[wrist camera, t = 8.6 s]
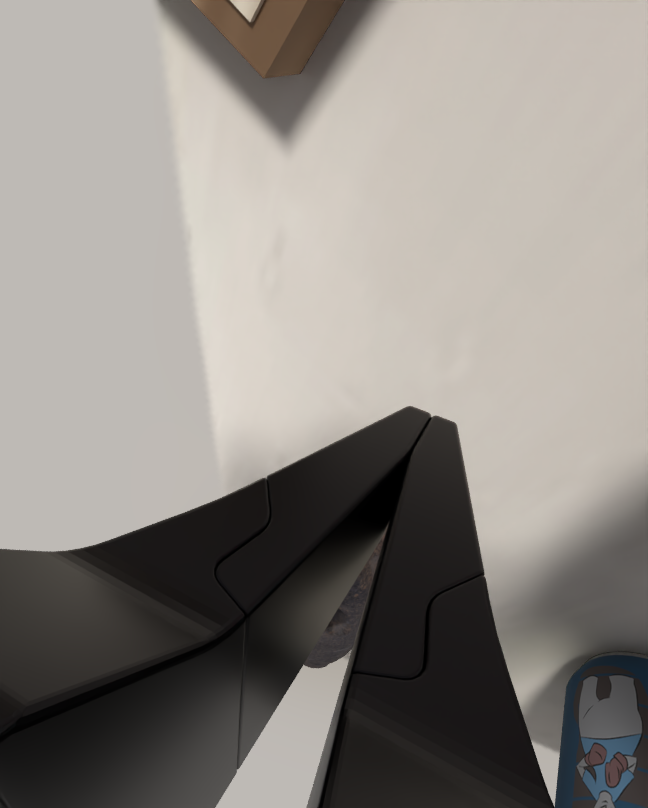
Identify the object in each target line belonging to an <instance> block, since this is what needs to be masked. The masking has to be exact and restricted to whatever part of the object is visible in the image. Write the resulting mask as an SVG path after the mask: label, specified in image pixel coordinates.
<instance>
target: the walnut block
mask: <svg viewBox="0 0 648 808" xmlns="http://www.w3.org/2000/svg"><path fill="white" fill-rule="evenodd" d="M191 1H192V2H193V3H194V4H195V5H196V7H197V8H198V9H199V10H200V11H201V12H202V13H203V14H204V15H205V16H206V17H207V18H208V19H209V20H210V22H211V23H212V24H213V25H214V26H215V27H216V28H217V29H218V30H219V31H220V32H221V33H222V34H223V36H224V37H225V38H226V39H227V40H228V41H229V42H230V43H231V44H232V45H233V46H234V47H235V48H236V49H237V51H238V52H239V53H240V54H241V55H242V56H243V57H244V58H245V59H246V60H247V61H248V62H249V63H250V65H251V66H252V67H253V68H254V69H255V70H256V71H257V72H258V73H259V74H260V75H261V76H262V77H263V78H271V77H278V76H286V75H293V74H300V73H301V71H302V69H303V68H304V66H305V64H306V63H307V61H308V60H309V58H310V56H311V55H312V53H313V51H314V50H315V48H316V46H317V45H318V43H319V41H320V40H321V38H322V37H323V35H324V33H325V32H326V30H327V28H328V27H329V25H330V23H331V22H332V20H333V18H334V17H335V15H336V14H337V12H338V10H339V9H340V7H341V5H342V4H343V2H344V0H191Z"/></svg>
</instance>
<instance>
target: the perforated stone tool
mask: <svg viewBox="0 0 648 808" xmlns="http://www.w3.org/2000/svg"><path fill="white" fill-rule="evenodd" d="M387 528H388V527H387ZM386 531H387V529H386ZM386 531H385V533H384V535H383V536H382V538H381V540H380V542H379V543H378V545H377V547H376V548H375V550H374V551H373V553H372V555H371V556H370V558H369V559H368V561H367V563H366V564H365V566H364V568H363V569H362V571H361V572H360V574H359V576H358V577H357V579H356V580H355V582H354V584H353V585H352V587H351V589H350V590H349V592H348V593H347V595H346V597H345V598H344V600H343V601H342V603H341V605H340V606H339V608H338V610H337V611H336V613H335V614H334V616H333V618H332V619H331V621H330V622H329V624H328V626H327V627H326V629H325V631H324V632H323V634H322V635H321V637H320V639H319V640H318V642H317V643H316V645H315V647H314V648H313V650H312V652H311V653H310V655H309V656H308V658H307V660H306V661H305V663H304V665H305V666H308V667H311V668H322V667H325V666H327V665H328V664H329V663H332V662H334V661H337V660H338V659H340V658H342V657H343V656H345V655H346V654H347V653H348V652H349V651H350V650H351V649H352V648H353V645H354V641H355V638H356V634H357V631H358V627H359V624H360V620H361V617H362V614H363V610H364V607H365V603H366V600H367V596H368V593H369V589H370V586H371V582H372V579H373V575H374V572H375V568H376V565H377V561H378V558H379V555H380V551H381V548H382V544H383V541H384V538H385V534H386Z"/></svg>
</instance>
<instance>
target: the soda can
mask: <svg viewBox="0 0 648 808" xmlns="http://www.w3.org/2000/svg"><path fill="white" fill-rule="evenodd" d="M555 808H648V656H647V655H643V654H638V653H631V652H609V653H603V654H600V655H597V656H595V657H593V658H591V659H590V660H588V661H587V662H586V663H585V664H584V665H583V666H582V667H581V668H580V669H579V670H578V671H577V672H576V673H575V674H574V675H573V676H572V677H571V679H570V680H569V682H568V684H567V687H566V695H565V705H564V716H563V726H562V737H561V747H560V758H559V768H558V779H557V789H556V799H555Z"/></svg>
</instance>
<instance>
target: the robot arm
mask: <svg viewBox="0 0 648 808" xmlns="http://www.w3.org/2000/svg"><path fill="white" fill-rule="evenodd" d="M387 527H388V528H387ZM386 529H387V531H386ZM385 531H386V534H385V538H384V541H383V544H382V548H381V551H380V555H379V558H378V561H377V565H376V568H375V572H374V575H373V579H372V582H371V586H370V589H369V593H368V596H367V600H366V603H365V607H364V610H363V614H362V617H361V620H360V624H359V627H358V631H357V634H356V638H355V641H354V645H353V648H352V652H351V655H350V659H349V662H348V666H347V669H346V673H345V676H344V679H343V683H342V686H341V690H340V693H339V697H338V700H337V704H336V707H335V711H334V714H333V718H332V721H331V725H330V728H329V732H328V735H327V739H326V742H325V746H324V749H323V752H322V756H321V759H320V763H319V766H318V770H317V773H316V777H315V780H314V784H313V787H312V791H311V794H310V798H309V801H308V805H307V808H554V805H553V803H552V800H551V798H550V796H549V794H548V790H547V787H546V785H545V782H544V779H543V776H542V773H541V770H540V767H539V764H538V761H537V758H536V755H535V752H534V749H533V746H532V742H531V739H530V736H529V733H528V730H527V727H526V724H525V721H524V718H523V715H522V712H521V709H520V706H519V703H518V700H517V697H516V693H515V690H514V687H513V684H512V681H511V678H510V675H509V672H508V669H507V665H506V662H505V659H504V655H503V652H502V648H501V645H500V642H499V638H498V635H497V631H496V626H495V622H494V618H493V613H492V609H491V604H490V600H489V594H488V589H487V583H486V579H485V577H484V569H483V563H482V558H481V552H480V547H479V542H478V536H477V531H476V526H475V520H474V515H473V509H472V504H471V499H470V493H469V488H468V482H467V477H466V472H465V466H464V461H463V455H462V450H461V445H460V439H459V434H458V428H457V425H456V423H454V422H452V421H450V420H447V419H444V418H442V417H439V416H433V417H432V418H431V414H430V413H428V412H426V411H423V410H420V409H418V408H415V407H412V406H408V407H405V408H403V409H401V410H399V411H397V412H395V413H393V414H391V415H389V416H387V417H385V418H383V419H381V420H379V421H377V422H375V423H373V424H371V425H369V426H367V427H365V428H363V429H361V430H359V431H357V432H355V433H353V434H351V435H349V436H347V437H345V438H343V439H341V440H339V441H337V442H335V443H333V444H331V445H329V446H327V447H325V448H323V449H321V450H319V451H317V452H315V453H313V454H311V455H309V456H307V457H305V458H303V459H301V460H299V461H297V462H295V463H293V464H291V465H289V466H286V467H284V468H282V469H280V470H278V471H276V472H274V473H272V474H270V475H268V476H267V479H266V478H262V479H260V480H258V481H256V482H254V483H252V484H250V485H248V486H246V487H244V488H241V489H239V490H237V491H235V492H233V493H231V494H228V495H226V496H224V497H222V498H220V499H217V500H215V501H212V502H210V503H207V504H205V505H202V506H200V507H198V508H195V509H192V510H190V511H187V512H185V513H182V514H179V515H177V516H174V517H171V518H168V519H165V520H163V521H160V522H157V523H155V524H152V525H149V526H147V527H144V528H141V529H139V530H136V531H133V532H130V533H127V534H125V535H122V536H120V537H117V538H114V539H111V540H109V541H105V542H102V543H99V544H96V545H93V546H89V547H84V548H80V549H74V550H68V551H56V552H42V551H26V550H9V549H8V550H7V549H0V808H215V807H216V805H217V804H218V802H219V800H220V799H221V797H222V795H223V794H224V792H225V791H226V789H227V787H228V786H229V784H230V783H231V781H232V779H233V778H234V776H235V775H236V772H237V769H239V768H240V766H241V765H242V763H243V761H244V760H245V758H246V757H247V755H248V753H249V752H250V750H251V748H252V747H253V745H254V744H255V742H256V740H257V739H258V737H259V736H260V734H261V732H262V731H263V729H264V727H265V726H266V724H267V723H268V721H269V719H270V718H271V716H272V714H273V712H274V711H275V710H276V708H277V706H278V705H279V703H280V702H281V700H282V698H283V696H284V695H285V694H286V692H287V690H288V689H289V687H290V685H291V684H292V682H293V680H294V679H295V677H296V676H297V674H298V673H299V671H300V669H301V668H302V666H303V664H304V663H305V661H306V660H307V658H308V656H309V655H310V653H311V652H312V650H313V648H314V647H315V645H316V643H317V642H318V640H319V639H320V637H321V635H322V634H323V632H324V631H325V629H326V627H327V626H328V624H329V622H330V621H331V619H332V618H333V616H334V614H335V613H336V611H337V610H338V608H339V606H340V605H341V603H342V601H343V600H344V598H345V597H346V595H347V593H348V592H349V590H350V589H351V587H352V585H353V584H354V582H355V580H356V579H357V577H358V576H359V574H360V572H361V571H362V569H363V568H364V566H365V564H366V563H367V561H368V559H369V558H370V556H371V555H372V553H373V551H374V550H375V548H376V547H377V545H378V543H379V542H380V540H381V538H382V536H383V535H384V533H385Z"/></svg>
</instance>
